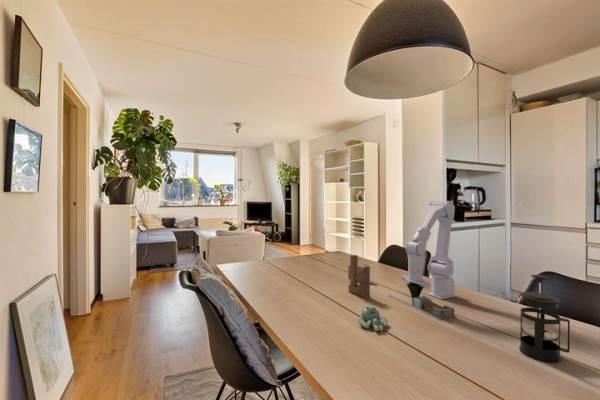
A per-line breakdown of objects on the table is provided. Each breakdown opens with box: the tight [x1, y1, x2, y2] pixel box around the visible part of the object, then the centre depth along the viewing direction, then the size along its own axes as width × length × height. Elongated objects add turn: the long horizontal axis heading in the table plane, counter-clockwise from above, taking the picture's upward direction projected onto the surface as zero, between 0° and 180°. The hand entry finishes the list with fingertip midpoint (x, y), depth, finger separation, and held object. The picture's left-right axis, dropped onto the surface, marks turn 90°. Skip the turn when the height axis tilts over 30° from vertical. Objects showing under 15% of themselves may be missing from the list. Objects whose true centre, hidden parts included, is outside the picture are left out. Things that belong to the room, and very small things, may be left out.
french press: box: [518, 274, 571, 364], centre depth 84 cm, size 12×9×23 cm
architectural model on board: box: [347, 263, 370, 282], centre depth 162 cm, size 11×3×10 cm, turn 48°
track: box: [388, 292, 457, 321], centre depth 123 cm, size 9×29×1 cm, turn 21°
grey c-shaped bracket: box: [432, 304, 455, 321], centre depth 112 cm, size 6×4×3 cm, turn 111°
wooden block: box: [348, 254, 371, 299], centre depth 137 cm, size 4×11×18 cm, turn 33°
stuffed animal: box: [358, 305, 389, 332], centre depth 104 cm, size 11×7×12 cm
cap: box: [411, 295, 433, 310], centre depth 122 cm, size 6×4×3 cm, turn 111°
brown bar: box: [423, 301, 446, 314], centre depth 116 cm, size 3×10×3 cm, turn 16°
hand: (415, 300), depth 125 cm, fingers closed
